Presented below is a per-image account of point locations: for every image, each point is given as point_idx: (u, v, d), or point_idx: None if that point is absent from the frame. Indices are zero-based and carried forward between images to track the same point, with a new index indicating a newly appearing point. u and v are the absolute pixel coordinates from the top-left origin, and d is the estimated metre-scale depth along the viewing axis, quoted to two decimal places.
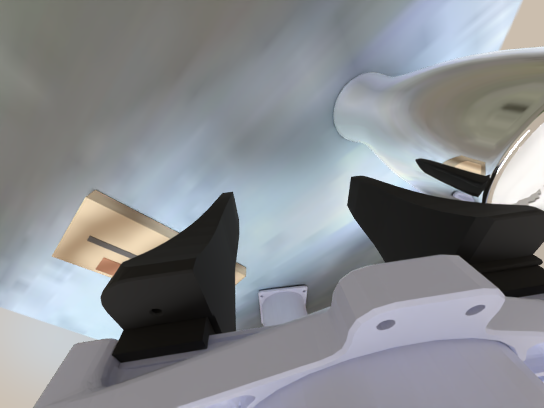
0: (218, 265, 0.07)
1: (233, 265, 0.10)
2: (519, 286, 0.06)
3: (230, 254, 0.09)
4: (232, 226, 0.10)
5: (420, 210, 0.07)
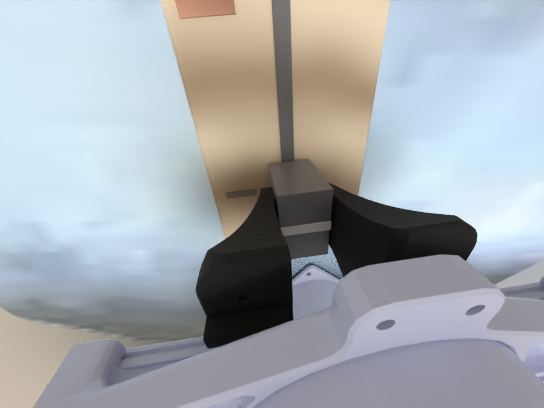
0: None
1: None
2: None
3: None
4: None
5: (359, 219, 0.07)
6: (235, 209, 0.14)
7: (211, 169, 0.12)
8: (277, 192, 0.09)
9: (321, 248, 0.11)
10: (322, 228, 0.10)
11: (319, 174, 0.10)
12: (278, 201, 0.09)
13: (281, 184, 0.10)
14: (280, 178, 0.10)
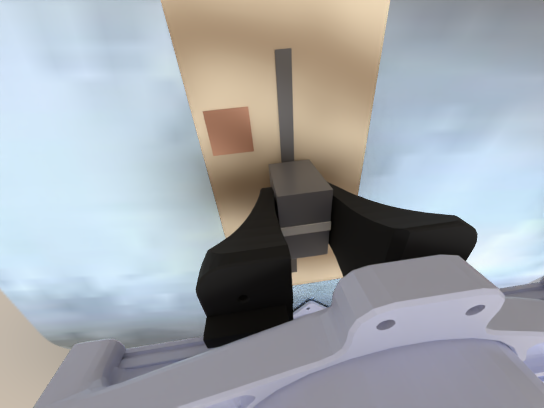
0: None
1: None
2: None
3: None
4: None
5: (359, 219, 0.07)
6: None
7: None
8: (277, 192, 0.09)
9: (321, 248, 0.11)
10: (322, 229, 0.10)
11: (319, 174, 0.10)
12: (278, 201, 0.09)
13: (281, 184, 0.10)
14: (280, 178, 0.10)
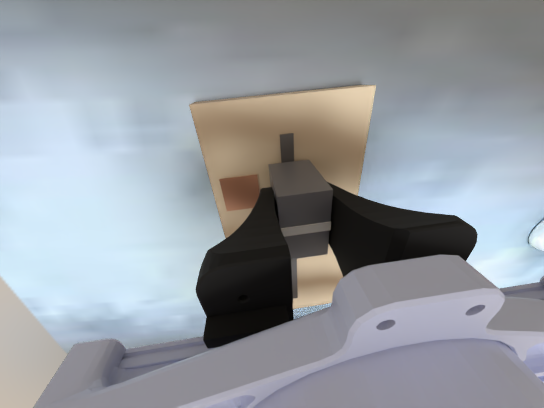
0: None
1: None
2: None
3: None
4: None
5: (359, 219, 0.07)
6: None
7: None
8: (277, 193, 0.09)
9: (321, 248, 0.11)
10: (322, 229, 0.10)
11: (319, 175, 0.10)
12: (278, 202, 0.09)
13: (281, 185, 0.10)
14: (280, 179, 0.10)
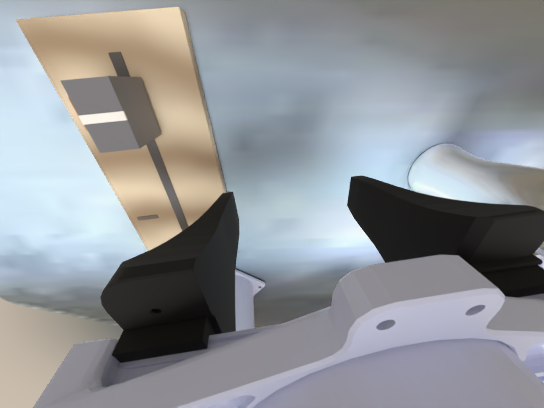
0: (218, 265, 0.07)
1: (233, 265, 0.10)
2: (519, 287, 0.06)
3: (230, 254, 0.09)
4: (232, 226, 0.10)
5: (420, 210, 0.07)
6: (146, 227, 0.21)
7: (124, 203, 0.20)
8: None
9: (130, 142, 0.13)
10: (121, 119, 0.12)
11: None
12: (64, 86, 0.11)
13: None
14: None
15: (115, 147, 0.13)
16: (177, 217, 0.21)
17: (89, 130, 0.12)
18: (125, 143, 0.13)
